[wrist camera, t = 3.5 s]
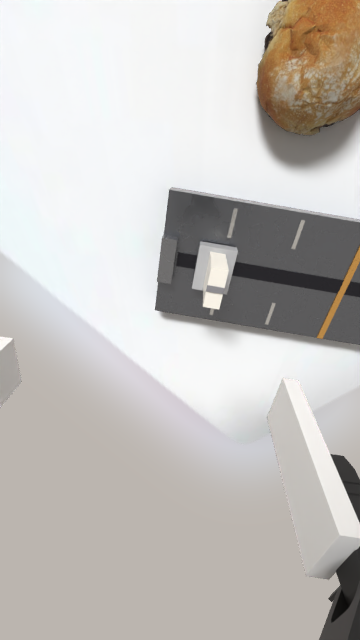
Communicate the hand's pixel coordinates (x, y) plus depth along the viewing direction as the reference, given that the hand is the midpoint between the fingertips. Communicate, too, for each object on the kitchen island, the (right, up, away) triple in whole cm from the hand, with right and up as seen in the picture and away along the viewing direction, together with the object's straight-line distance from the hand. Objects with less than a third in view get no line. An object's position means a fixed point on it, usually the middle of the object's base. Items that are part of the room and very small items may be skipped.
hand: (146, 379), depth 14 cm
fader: (+5, +9, +18) cm, 21 cm away
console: (+14, +9, +21) cm, 26 cm away
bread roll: (+13, +26, +12) cm, 31 cm away
